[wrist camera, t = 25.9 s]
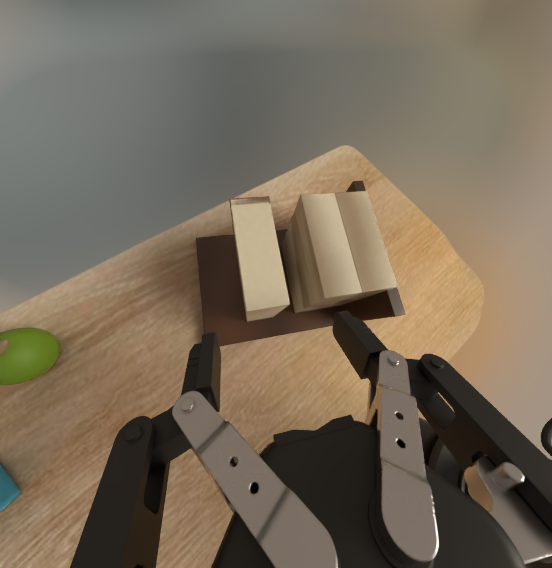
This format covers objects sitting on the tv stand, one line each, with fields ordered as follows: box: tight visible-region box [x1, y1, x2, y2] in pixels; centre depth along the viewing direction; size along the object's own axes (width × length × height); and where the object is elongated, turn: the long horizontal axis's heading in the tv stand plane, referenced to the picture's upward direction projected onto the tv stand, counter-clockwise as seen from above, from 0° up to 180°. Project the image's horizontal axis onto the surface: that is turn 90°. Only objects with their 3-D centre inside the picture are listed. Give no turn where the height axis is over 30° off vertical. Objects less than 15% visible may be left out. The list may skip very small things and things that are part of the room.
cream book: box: [230, 196, 290, 322], centre depth 22 cm, size 4×10×11 cm, turn 10°
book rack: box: [196, 181, 405, 346], centre depth 23 cm, size 20×15×12 cm
